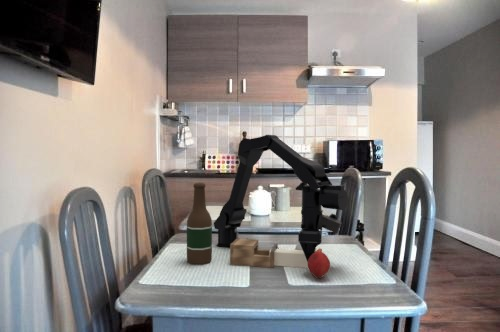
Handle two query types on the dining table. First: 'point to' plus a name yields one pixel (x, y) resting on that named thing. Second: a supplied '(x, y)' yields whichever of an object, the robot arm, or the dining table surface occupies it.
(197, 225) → the beer bottle
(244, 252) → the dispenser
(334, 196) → the robot arm
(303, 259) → the pink-topped cream pillar
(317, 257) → the onion
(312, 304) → the dining table surface
